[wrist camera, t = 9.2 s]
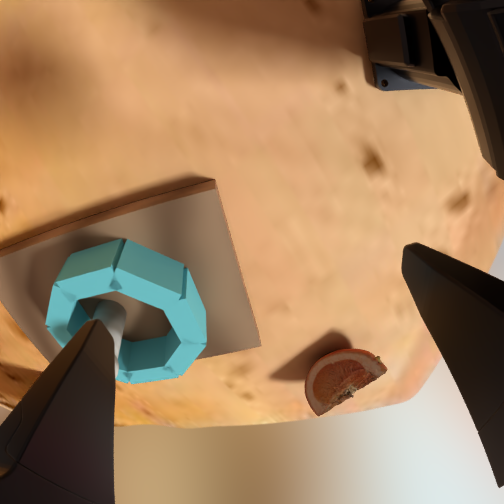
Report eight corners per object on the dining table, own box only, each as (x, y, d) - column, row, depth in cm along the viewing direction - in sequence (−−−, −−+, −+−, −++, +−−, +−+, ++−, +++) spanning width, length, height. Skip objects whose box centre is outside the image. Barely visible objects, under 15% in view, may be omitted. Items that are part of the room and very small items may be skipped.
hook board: (215, 179, 19) (219, 251, 13) (258, 332, 27) (274, 412, 20) (-14, 256, 19) (-60, 322, 13) (66, 365, 27) (49, 431, 21)
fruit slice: (353, 321, 28) (373, 363, 24) (384, 345, 31) (403, 381, 27) (287, 369, 31) (297, 411, 27) (325, 386, 34) (336, 422, 30)
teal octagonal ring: (170, 224, 19) (165, 252, 16) (218, 339, 25) (220, 369, 22) (36, 265, 19) (20, 292, 16) (103, 359, 25) (98, 387, 22)
